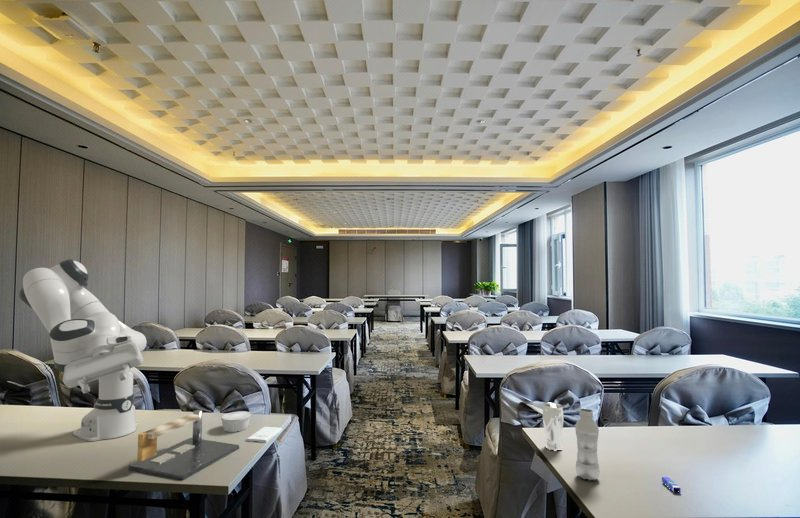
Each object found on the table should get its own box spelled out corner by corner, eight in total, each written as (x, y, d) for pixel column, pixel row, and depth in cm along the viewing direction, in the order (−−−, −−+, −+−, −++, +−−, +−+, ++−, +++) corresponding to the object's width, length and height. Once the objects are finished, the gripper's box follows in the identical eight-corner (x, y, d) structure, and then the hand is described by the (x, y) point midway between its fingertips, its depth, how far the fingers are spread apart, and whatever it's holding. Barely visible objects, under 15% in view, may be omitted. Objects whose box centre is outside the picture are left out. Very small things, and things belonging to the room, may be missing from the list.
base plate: (129, 469, 127) (130, 430, 127) (190, 440, 149) (191, 408, 150) (183, 480, 120) (184, 439, 120) (239, 448, 142) (239, 414, 143)
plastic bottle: (571, 473, 123) (570, 407, 125) (592, 472, 124) (590, 406, 125) (582, 484, 117) (581, 414, 118) (605, 483, 118) (602, 413, 119)
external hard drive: (282, 431, 160) (266, 444, 148) (263, 430, 161) (245, 442, 149) (282, 427, 160) (266, 439, 148) (263, 426, 162) (246, 438, 149)
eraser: (673, 494, 112) (673, 486, 112) (661, 483, 118) (661, 476, 118) (680, 494, 112) (680, 487, 112) (669, 484, 118) (668, 476, 118)
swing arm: (190, 436, 145) (191, 413, 145) (199, 437, 143) (199, 415, 144) (137, 460, 125) (138, 434, 126) (146, 462, 124) (147, 435, 124)
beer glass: (564, 446, 144) (563, 403, 145) (563, 453, 138) (562, 409, 139) (544, 442, 147) (543, 401, 148) (542, 450, 141) (541, 406, 142)
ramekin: (235, 422, 170) (235, 409, 170) (256, 425, 166) (256, 412, 166) (214, 431, 159) (214, 417, 159) (236, 435, 155) (236, 421, 155)
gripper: (60, 357, 122) (56, 393, 113) (136, 334, 130) (139, 365, 121) (69, 369, 126) (67, 405, 117) (143, 346, 134) (146, 378, 125)
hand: (104, 385), depth 119 cm, fingers open, 8 cm apart
